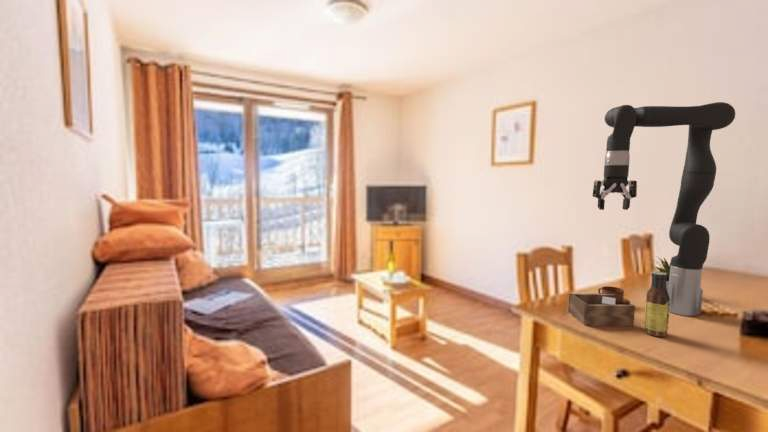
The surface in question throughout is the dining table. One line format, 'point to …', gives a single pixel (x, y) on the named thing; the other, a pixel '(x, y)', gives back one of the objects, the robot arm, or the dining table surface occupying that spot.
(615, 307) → the wooden box
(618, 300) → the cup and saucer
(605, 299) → the offcut top
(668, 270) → the house plant
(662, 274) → the sauce bottle
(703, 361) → the dining table surface
